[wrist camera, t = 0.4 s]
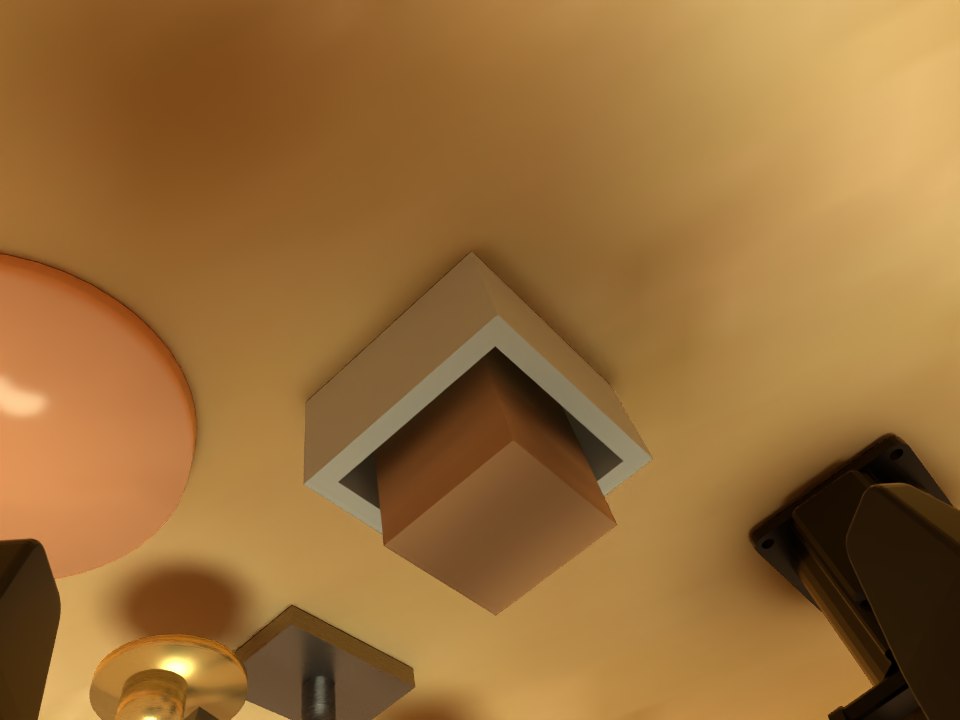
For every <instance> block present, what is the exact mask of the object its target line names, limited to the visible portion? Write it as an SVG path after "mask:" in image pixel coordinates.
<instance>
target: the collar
mask: <svg viewBox="0 0 960 720" xmlns="http://www.w3.org/2000/svg"><path fill="white" fill-rule="evenodd" d="M495 346H496V347H497V348H498V349H499V350H500V351H501V352H502V353H503V354H504V355H506V356H507V357H508V358H509V359H510V360H511V361H512V362H513V363H515V364H516V365H517V366H518V367H519V368H520V369H521V370H522V371H523V372H525V373H526V374H527V375H528V376H529V377H530V378H531V379H532V380H534V381H535V382H536V383H537V384H538V385H539V386H540V387H541V388H542V389H544V390H545V391H546V392H547V393H548V394H549V395H550V396H551V397H553V398H554V399H555V400H556V401H557V402H558V403H559V404H560V405H561V406H562V407H563V409H564V411H565V413H566V416H567V418H568V420H569V422H570V424H571V426H572V429H573V431H574V433H575V435H576V437H577V439H578V442H579V444H580V446H581V448H582V450H583V452H584V454H585V457H586V459H587V461H588V463H589V465H590V467H591V470H592V472H593V474H594V476H595V478H596V480H597V483H598V485H599V487H600V489H601V491H602V493H603V495H604V496H605V495H606V494H608V493H609V492H610V491H612V490H613V489H614V488H616V487H617V486H618V485H619V484H621V483H622V482H623V481H625V480H626V479H627V478H629V477H630V476H631V475H633V474H634V473H635V472H637V471H638V470H639V469H640V468H642V467H643V466H644V465H646V464H647V463H648V462H650V461H651V460H652V459H653V458H652V456H651V454H650V453H649V451H648V449H647V448H646V446H645V444H644V442H643V441H642V439H641V437H640V435H639V434H638V432H637V430H636V429H635V427H634V425H633V423H632V422H631V420H630V418H629V416H628V415H627V413H626V411H625V409H624V408H623V406H622V404H621V403H620V401H619V399H618V397H617V396H616V394H615V392H614V390H613V389H612V387H611V386H610V385H609V384H608V383H607V382H606V381H605V380H604V379H603V378H602V377H601V376H600V375H599V374H598V373H597V372H596V371H595V370H594V369H593V368H592V367H591V366H590V365H589V364H588V363H587V362H586V361H585V360H583V359H582V358H581V357H580V356H579V355H578V354H577V353H576V352H575V351H574V350H573V349H572V348H571V347H570V346H569V345H568V344H567V343H566V342H565V341H564V340H563V339H562V338H561V337H560V336H559V335H558V334H557V333H556V332H555V331H554V330H552V329H551V328H550V327H549V326H548V325H547V324H546V323H545V322H544V321H543V320H542V319H541V318H540V317H539V316H538V315H537V314H536V313H535V312H534V311H533V310H532V309H531V308H530V307H529V306H528V305H527V304H526V303H525V302H524V301H523V300H521V299H520V298H519V297H518V296H517V295H516V294H515V293H514V292H513V291H512V290H511V289H510V288H509V287H508V286H507V285H506V284H505V283H504V282H503V281H502V280H501V279H500V278H499V277H498V276H497V275H496V274H495V273H494V272H493V271H491V270H490V269H489V268H488V267H487V266H486V265H485V264H484V263H483V262H482V261H481V260H480V259H479V258H478V257H477V256H476V255H475V254H474V253H473V252H472V251H471V252H470V253H469V254H468V255H467V256H466V257H465V258H464V259H462V260H461V261H460V262H459V263H458V264H457V265H456V266H455V267H454V268H453V269H452V270H450V271H449V272H448V273H447V274H446V275H445V276H444V277H443V278H442V279H441V280H440V281H438V282H437V283H436V284H435V285H434V286H433V287H432V288H431V289H430V290H429V291H427V292H426V293H425V294H424V295H423V296H422V297H421V298H420V299H419V300H418V301H417V302H415V303H414V304H413V305H412V306H411V307H410V308H409V309H408V310H407V311H406V312H404V313H403V314H402V315H401V316H400V317H399V318H398V319H397V320H396V321H395V322H394V323H392V324H391V325H390V326H389V327H388V328H387V329H386V330H385V331H384V332H383V333H381V334H380V335H379V336H378V337H377V338H376V339H375V340H374V341H373V342H372V343H371V344H369V345H368V346H367V347H366V348H365V349H364V350H363V351H362V352H361V353H360V354H359V355H357V356H356V357H355V358H354V359H353V360H352V361H351V362H350V363H349V364H348V365H346V366H345V367H344V368H343V369H342V370H341V371H340V372H339V373H338V374H337V375H336V376H334V377H333V378H332V379H331V380H330V381H329V382H328V383H327V384H326V385H325V386H323V387H322V388H321V389H320V390H319V391H318V392H317V393H316V394H315V395H314V396H313V397H311V398H310V399H309V400H308V401H307V402H306V406H305V447H304V485H305V486H307V487H308V488H310V489H311V490H313V491H314V492H316V493H318V494H319V495H321V496H322V497H324V498H326V499H327V500H329V501H330V502H332V503H333V504H335V505H337V506H338V507H340V508H341V509H343V510H345V511H346V512H348V513H349V514H351V515H352V516H354V517H356V518H357V519H359V520H360V521H362V522H364V523H365V524H367V525H368V526H370V527H371V528H373V529H375V530H376V531H378V532H379V533H381V534H382V535H383V533H382V523H381V512H380V502H379V492H378V482H377V472H376V462H375V452H374V450H376V449H377V448H378V447H379V446H380V445H381V444H383V443H384V442H385V441H386V440H387V439H388V438H390V437H391V436H392V435H393V434H394V433H395V432H396V431H398V430H399V429H400V428H401V427H402V426H403V425H405V424H406V423H407V422H408V421H409V420H410V419H412V418H413V417H414V416H415V415H416V414H417V413H418V412H420V411H421V410H422V409H423V408H424V407H425V406H427V405H428V404H429V403H430V402H431V401H432V400H434V399H435V398H436V397H437V396H438V395H439V394H440V393H442V392H443V391H444V390H445V389H446V388H447V387H449V386H450V385H451V384H452V383H453V382H454V381H456V380H457V379H458V378H459V377H460V376H461V375H462V374H464V373H465V372H466V371H467V370H468V369H469V368H471V367H472V366H473V365H474V364H475V363H476V362H478V361H479V360H480V359H481V358H482V357H483V356H485V355H486V354H487V353H488V352H489V351H490V350H491V349H493V348H494V347H495Z"/></svg>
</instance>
